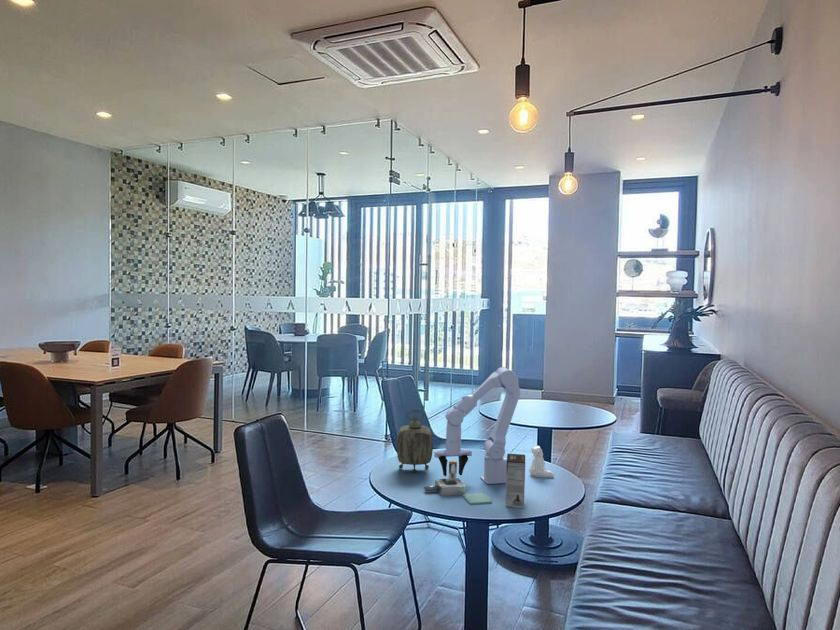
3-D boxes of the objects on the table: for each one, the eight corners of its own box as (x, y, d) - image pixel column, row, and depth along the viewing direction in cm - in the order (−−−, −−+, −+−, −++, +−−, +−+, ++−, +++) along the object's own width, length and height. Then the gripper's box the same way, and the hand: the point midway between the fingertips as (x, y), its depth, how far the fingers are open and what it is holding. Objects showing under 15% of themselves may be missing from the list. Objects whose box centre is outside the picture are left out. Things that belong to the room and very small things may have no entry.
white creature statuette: (555, 477, 218) (556, 448, 217) (537, 480, 214) (538, 450, 213) (540, 470, 226) (541, 442, 226) (523, 473, 222) (524, 444, 222)
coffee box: (505, 497, 195) (507, 452, 194) (523, 498, 193) (525, 454, 193) (505, 506, 186) (506, 460, 185) (524, 508, 184) (525, 461, 184)
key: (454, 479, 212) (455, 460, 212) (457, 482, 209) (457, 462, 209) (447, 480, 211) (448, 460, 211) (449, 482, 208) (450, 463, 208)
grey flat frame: (457, 485, 205) (458, 478, 205) (465, 494, 196) (465, 486, 196) (421, 487, 202) (422, 480, 202) (428, 496, 193) (428, 488, 193)
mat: (483, 494, 196) (484, 493, 196) (492, 503, 189) (492, 501, 189) (462, 496, 194) (462, 494, 194) (470, 504, 187) (470, 502, 187)
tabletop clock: (431, 467, 226) (432, 408, 225) (432, 475, 217) (434, 412, 216) (396, 467, 225) (397, 407, 224) (396, 474, 216) (397, 412, 215)
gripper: (468, 436, 215) (467, 470, 216) (432, 438, 212) (431, 472, 212) (474, 441, 208) (472, 476, 209) (437, 442, 205) (436, 478, 205)
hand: (452, 474), depth 210 cm, fingers open, 6 cm apart
